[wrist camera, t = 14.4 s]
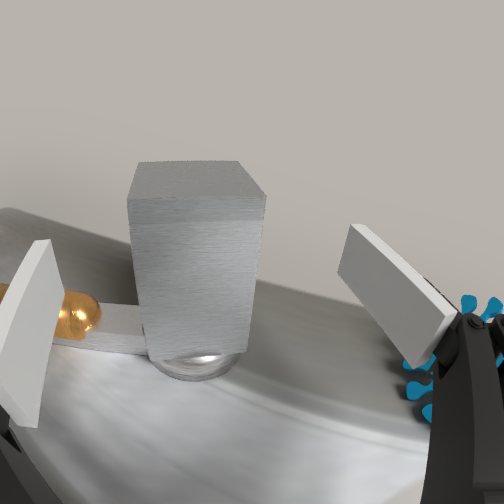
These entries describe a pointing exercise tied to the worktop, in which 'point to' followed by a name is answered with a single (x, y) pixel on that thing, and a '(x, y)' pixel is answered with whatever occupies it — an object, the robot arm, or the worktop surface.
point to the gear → (417, 389)
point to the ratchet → (123, 335)
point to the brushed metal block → (195, 255)
